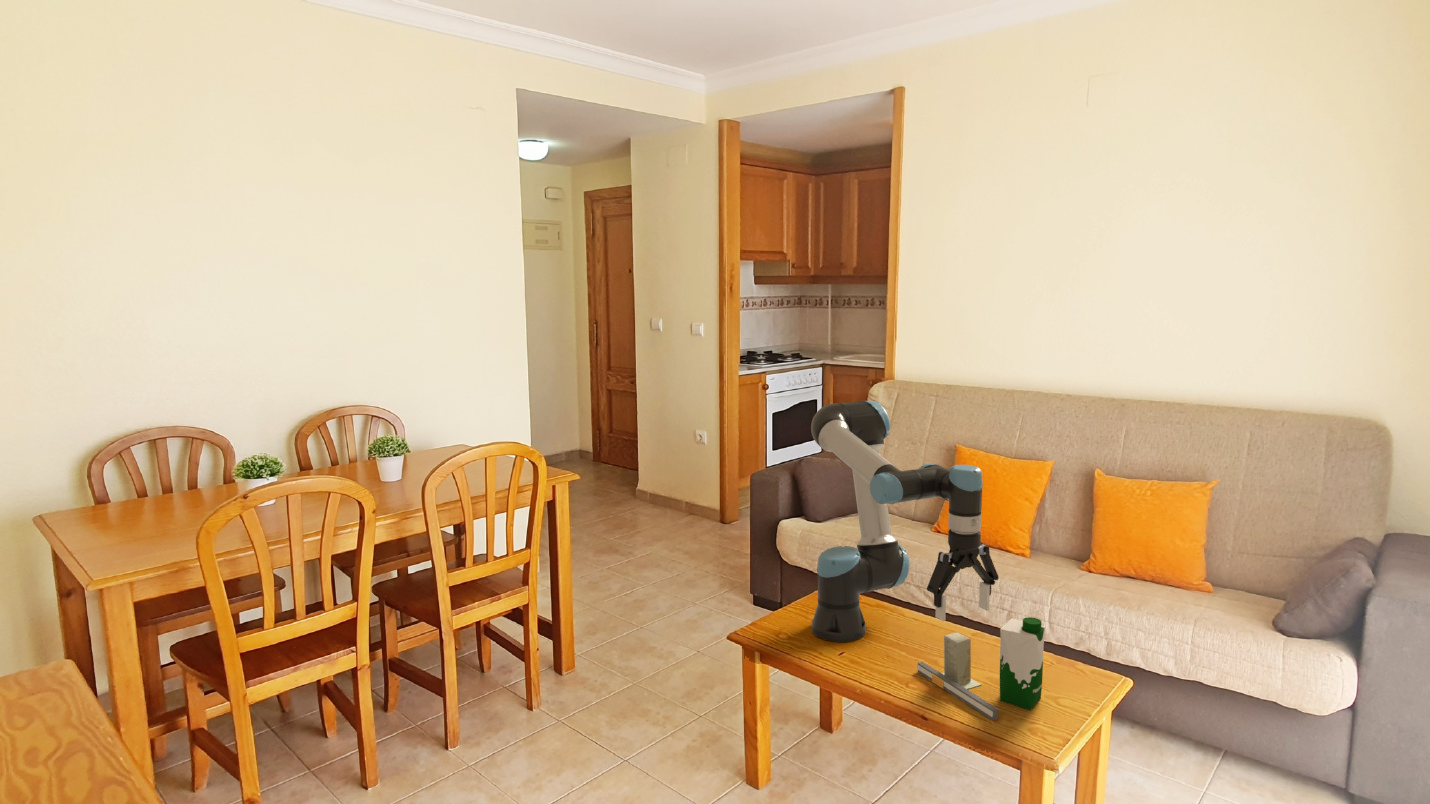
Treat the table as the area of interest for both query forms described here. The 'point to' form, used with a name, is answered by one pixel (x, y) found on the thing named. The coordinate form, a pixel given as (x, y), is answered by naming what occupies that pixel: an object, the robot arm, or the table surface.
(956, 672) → the box
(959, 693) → the rail
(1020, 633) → the fresh milk carton
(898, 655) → the table surface
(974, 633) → the table surface
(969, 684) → the pad
